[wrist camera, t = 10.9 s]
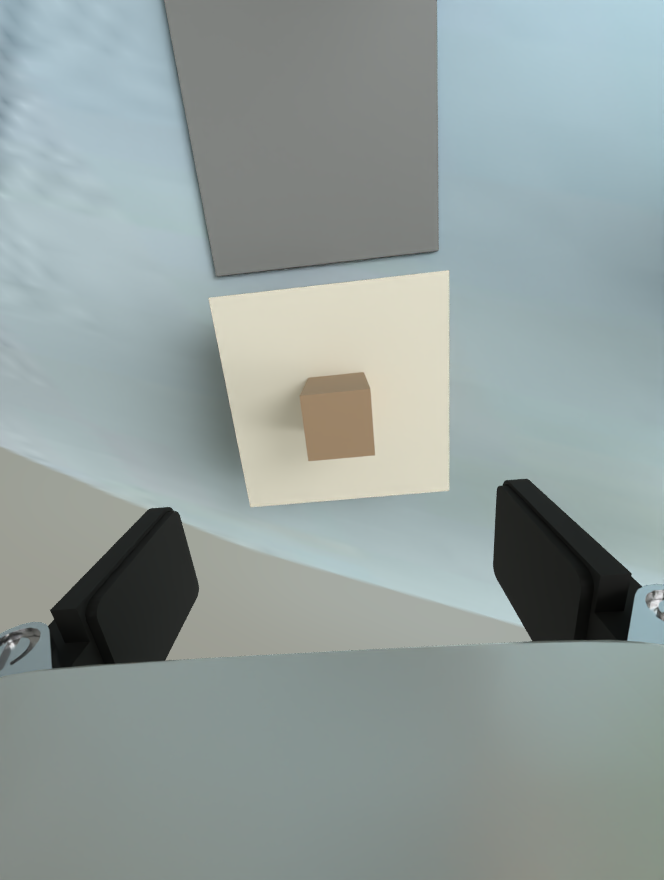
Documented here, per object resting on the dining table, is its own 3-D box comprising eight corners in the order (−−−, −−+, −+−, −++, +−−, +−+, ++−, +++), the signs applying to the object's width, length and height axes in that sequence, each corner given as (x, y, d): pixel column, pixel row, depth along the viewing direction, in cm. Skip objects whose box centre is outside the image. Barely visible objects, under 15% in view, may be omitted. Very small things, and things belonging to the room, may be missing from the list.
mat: (434, -58, 24) (436, -66, 23) (436, 251, 30) (438, 250, 29) (163, -15, 25) (159, -22, 24) (218, 276, 31) (216, 276, 30)
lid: (445, 271, 25) (483, 257, 18) (446, 486, 30) (475, 534, 23) (212, 298, 25) (169, 293, 19) (252, 502, 31) (229, 553, 24)
